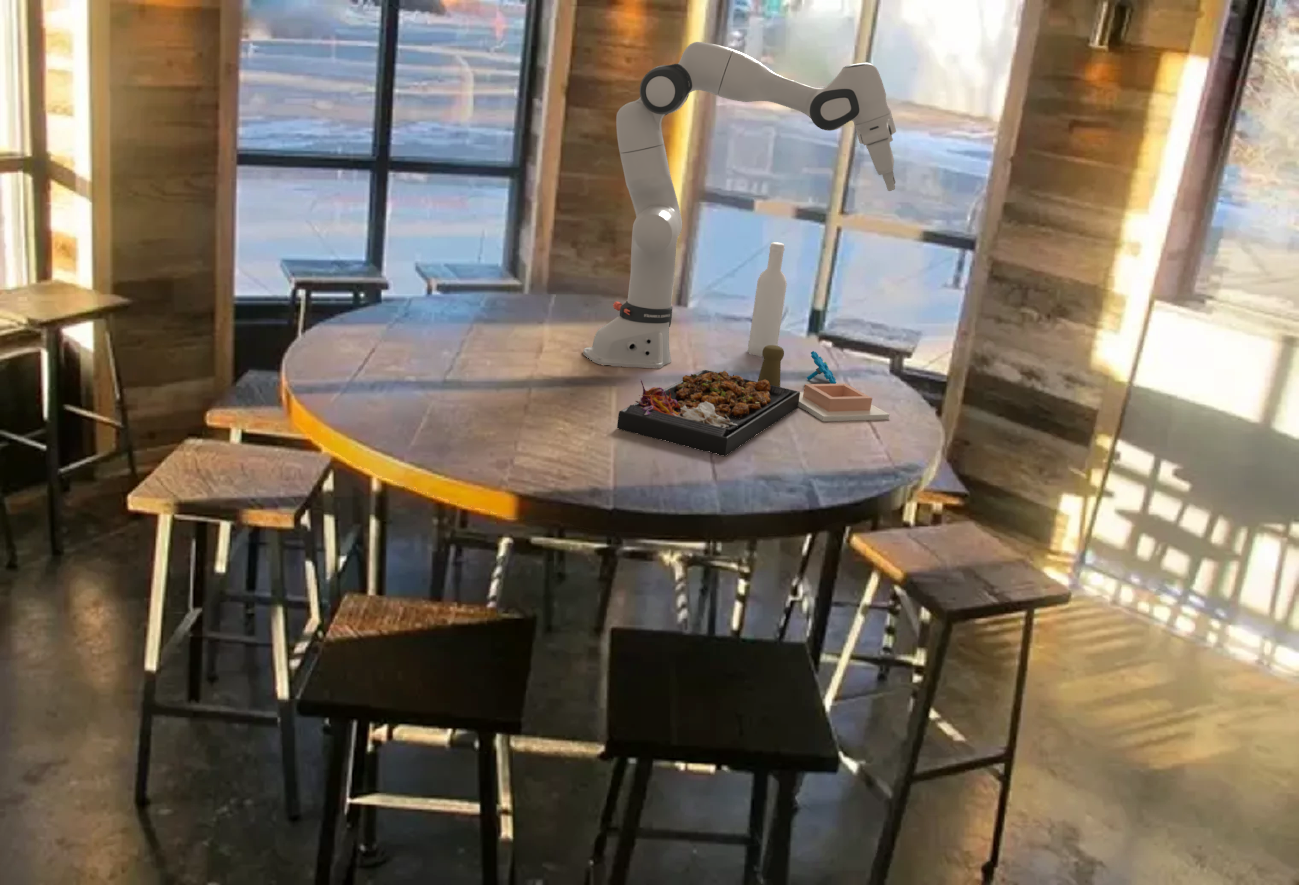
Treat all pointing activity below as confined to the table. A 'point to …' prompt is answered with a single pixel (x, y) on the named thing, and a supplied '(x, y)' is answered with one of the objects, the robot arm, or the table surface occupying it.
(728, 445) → the food platter
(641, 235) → the robot arm
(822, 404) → the holder
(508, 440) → the table surface
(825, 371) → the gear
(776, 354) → the cork
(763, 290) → the bottle
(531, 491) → the table surface
